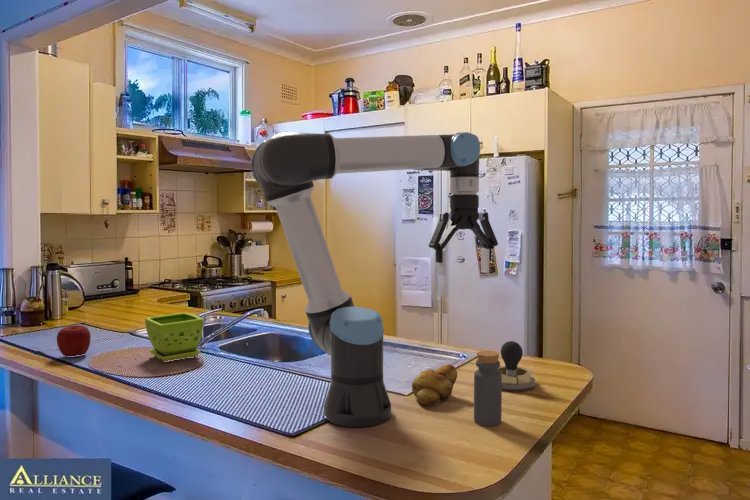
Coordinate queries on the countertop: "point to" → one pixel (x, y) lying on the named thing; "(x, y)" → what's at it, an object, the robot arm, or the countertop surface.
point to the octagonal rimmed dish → (517, 380)
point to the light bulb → (511, 356)
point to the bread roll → (434, 384)
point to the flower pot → (174, 335)
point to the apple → (73, 340)
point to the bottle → (487, 389)
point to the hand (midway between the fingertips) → (463, 274)
